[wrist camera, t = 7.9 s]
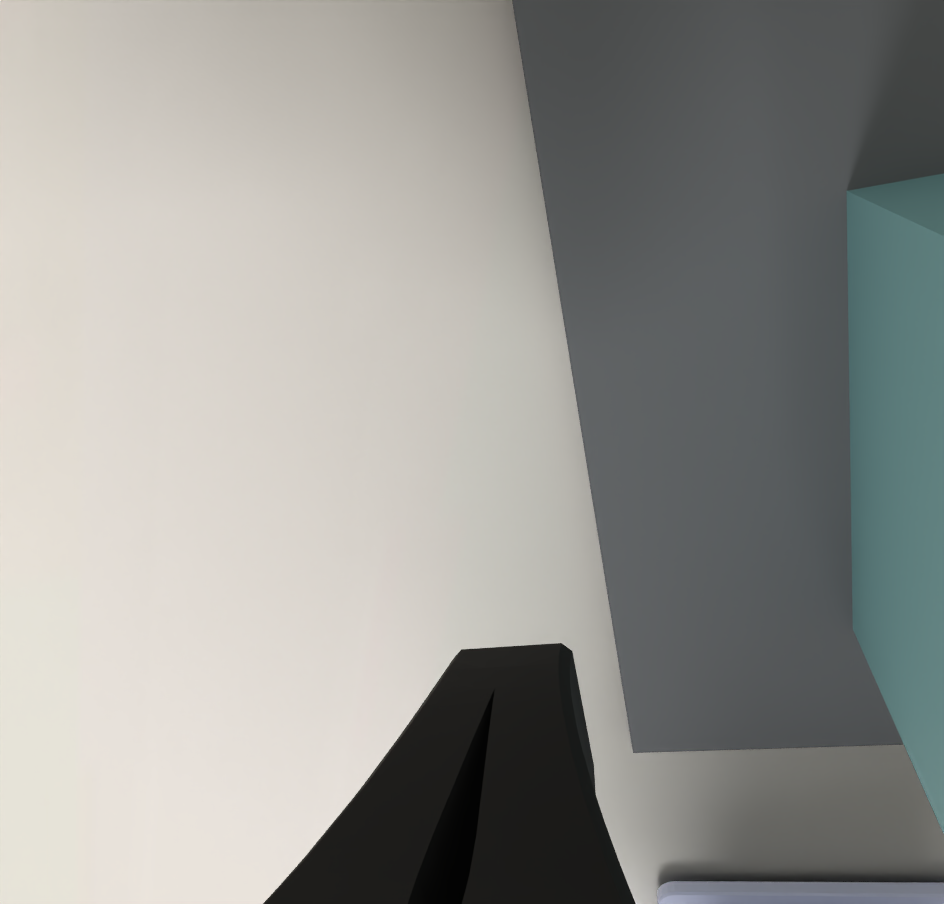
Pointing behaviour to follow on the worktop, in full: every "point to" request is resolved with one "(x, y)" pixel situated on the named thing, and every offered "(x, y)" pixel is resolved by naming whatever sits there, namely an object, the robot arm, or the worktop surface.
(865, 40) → the mat
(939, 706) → the block
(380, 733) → the worktop surface
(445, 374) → the worktop surface
